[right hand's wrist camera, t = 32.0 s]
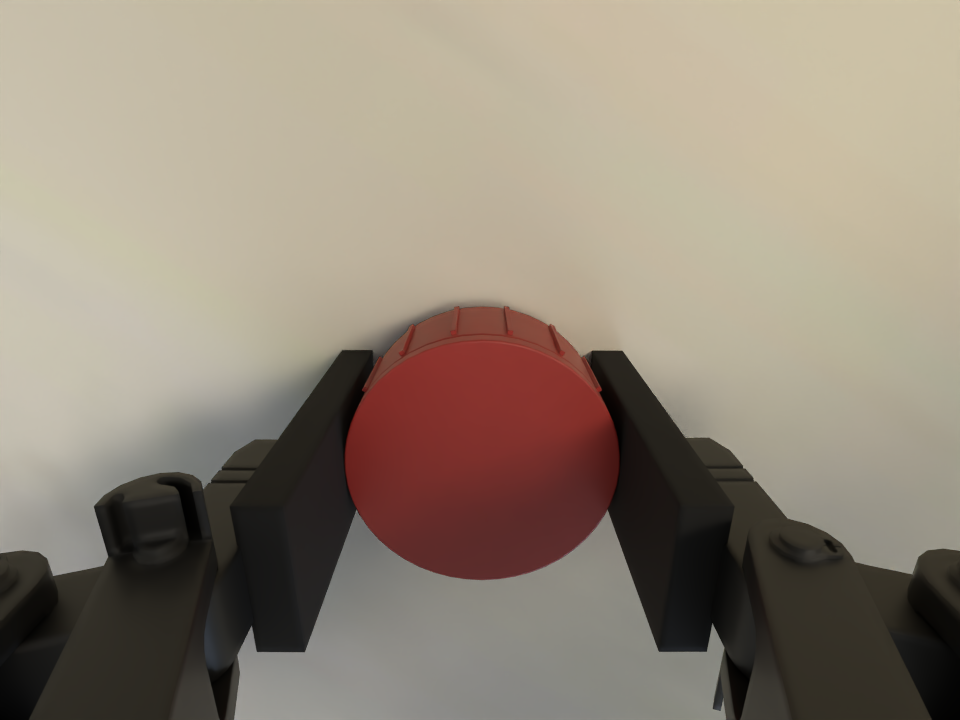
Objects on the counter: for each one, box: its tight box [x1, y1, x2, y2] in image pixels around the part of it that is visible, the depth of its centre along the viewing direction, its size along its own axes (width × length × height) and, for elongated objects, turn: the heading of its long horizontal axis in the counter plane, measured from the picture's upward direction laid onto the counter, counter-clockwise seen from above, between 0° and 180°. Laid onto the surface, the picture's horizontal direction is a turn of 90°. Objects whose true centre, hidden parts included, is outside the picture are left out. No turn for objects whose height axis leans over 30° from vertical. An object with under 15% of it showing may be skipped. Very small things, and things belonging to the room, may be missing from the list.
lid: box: [344, 306, 620, 580], centre depth 12 cm, size 6×6×2 cm
